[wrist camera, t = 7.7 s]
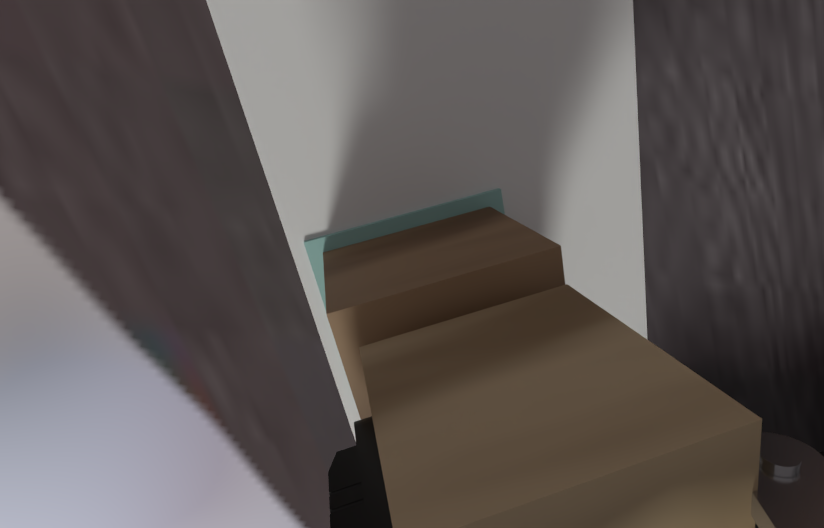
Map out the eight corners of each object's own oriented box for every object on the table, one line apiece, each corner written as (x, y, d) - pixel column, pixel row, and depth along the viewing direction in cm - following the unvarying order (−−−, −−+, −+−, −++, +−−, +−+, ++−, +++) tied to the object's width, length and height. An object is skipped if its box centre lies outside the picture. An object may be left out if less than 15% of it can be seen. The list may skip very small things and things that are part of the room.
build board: (185, -77, 13) (173, -95, 12) (605, -156, 14) (629, -178, 13) (353, 425, 19) (356, 445, 18) (632, 335, 21) (650, 348, 20)
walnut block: (322, 252, 15) (326, 314, 11) (490, 206, 16) (560, 245, 11) (367, 396, 18) (387, 499, 13) (513, 350, 18) (581, 432, 14)
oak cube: (359, 347, 10) (396, 549, 5) (567, 284, 11) (762, 418, 6) (408, 510, 12) (470, 767, 7) (585, 449, 12) (747, 652, 8)
